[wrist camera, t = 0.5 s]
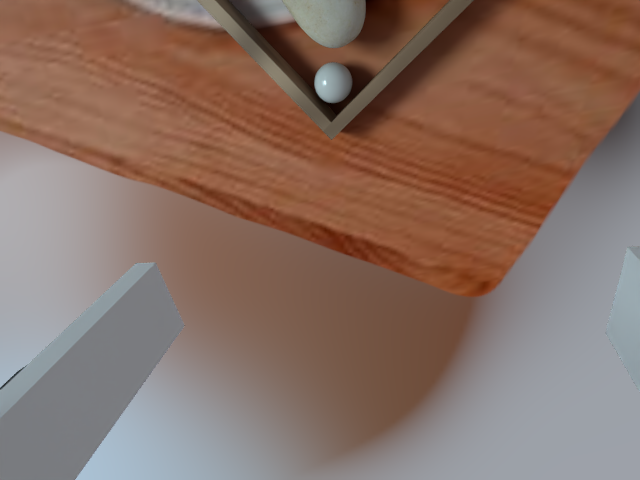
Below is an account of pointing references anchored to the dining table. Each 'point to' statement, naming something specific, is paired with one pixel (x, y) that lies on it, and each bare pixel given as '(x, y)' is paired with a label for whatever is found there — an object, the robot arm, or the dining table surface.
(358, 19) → the stone
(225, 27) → the parts frame
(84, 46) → the dining table surface
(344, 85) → the pebble
